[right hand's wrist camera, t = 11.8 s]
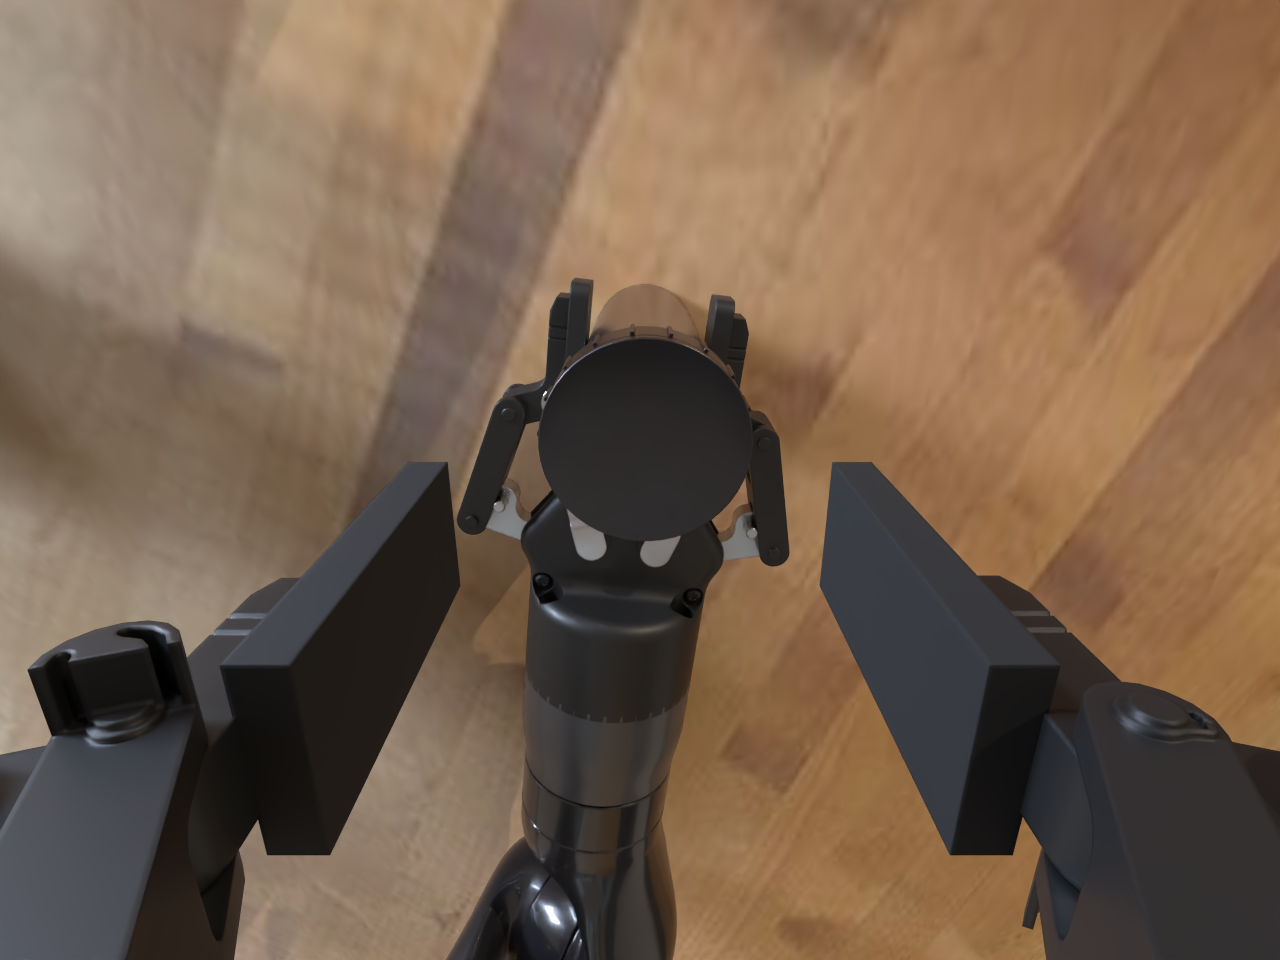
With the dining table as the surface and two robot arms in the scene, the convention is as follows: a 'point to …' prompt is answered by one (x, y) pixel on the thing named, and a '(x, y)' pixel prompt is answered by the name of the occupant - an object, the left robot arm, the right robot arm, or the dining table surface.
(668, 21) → the dining table surface
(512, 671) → the dining table surface
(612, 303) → the silver cylindrical piece
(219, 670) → the right robot arm
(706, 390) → the lid
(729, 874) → the dining table surface
